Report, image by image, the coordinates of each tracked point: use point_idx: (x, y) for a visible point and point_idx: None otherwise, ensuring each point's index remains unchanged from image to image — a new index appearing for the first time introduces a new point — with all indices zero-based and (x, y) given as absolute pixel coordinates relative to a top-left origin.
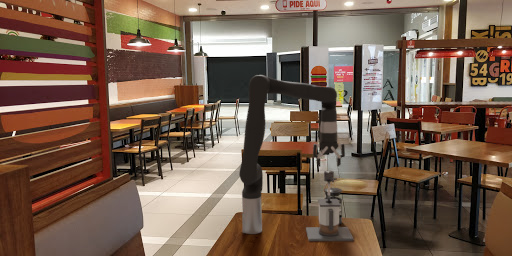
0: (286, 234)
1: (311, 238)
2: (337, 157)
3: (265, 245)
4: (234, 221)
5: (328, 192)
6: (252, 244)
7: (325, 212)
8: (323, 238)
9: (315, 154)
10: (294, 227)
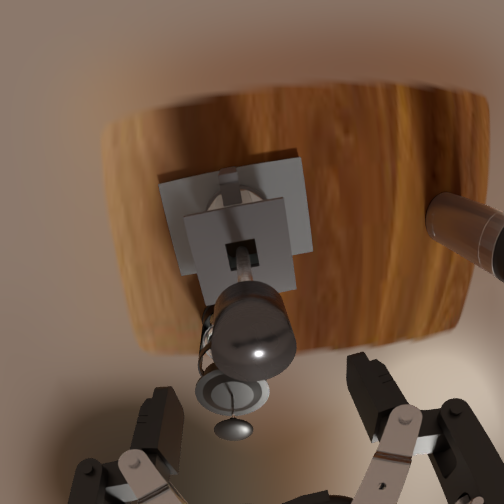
0: (365, 202)
1: (292, 159)
2: (169, 474)
3: (409, 120)
4: (472, 271)
5: (247, 269)
6: (436, 127)
7: (254, 200)
8: (253, 165)
9: (456, 429)
10: (344, 260)
